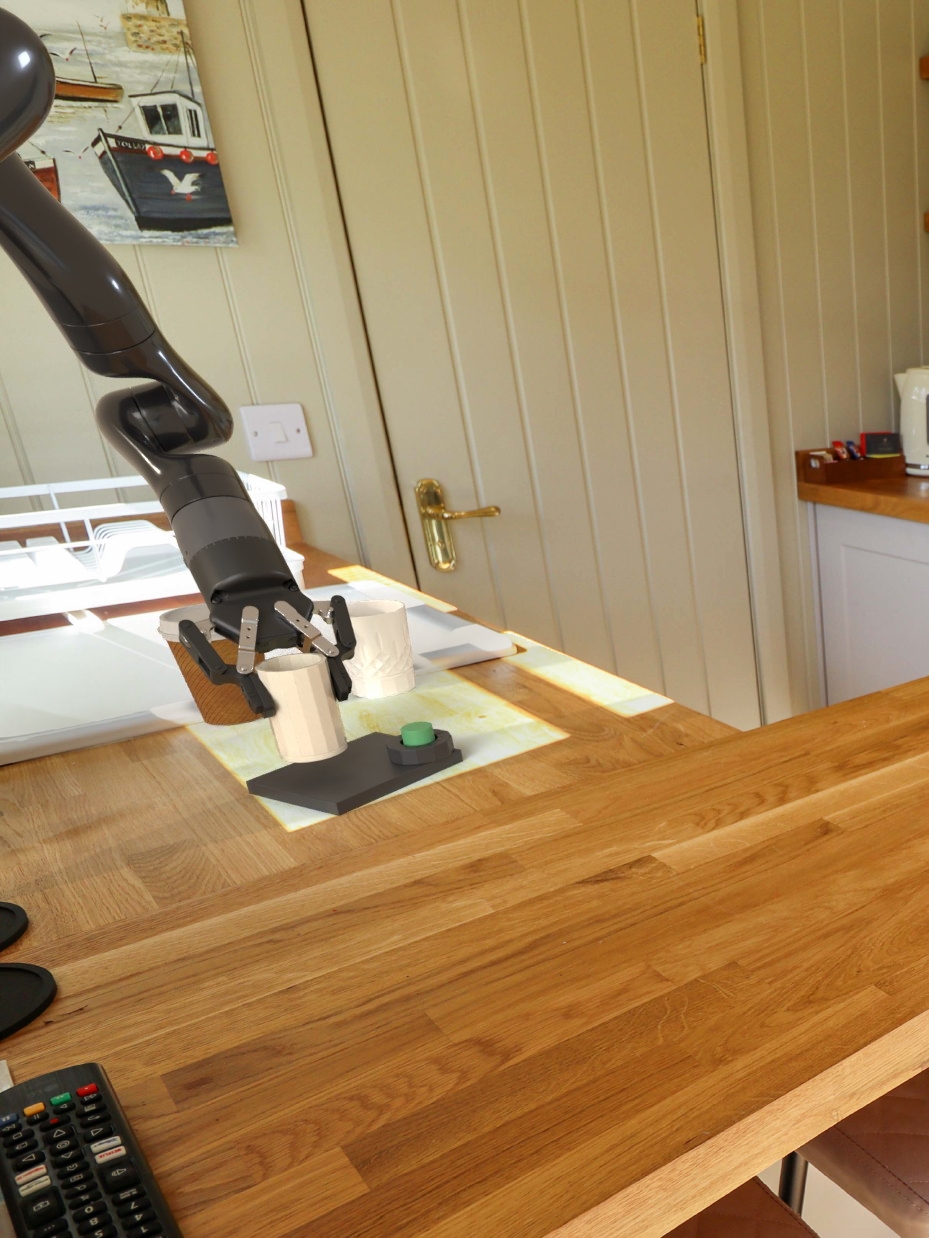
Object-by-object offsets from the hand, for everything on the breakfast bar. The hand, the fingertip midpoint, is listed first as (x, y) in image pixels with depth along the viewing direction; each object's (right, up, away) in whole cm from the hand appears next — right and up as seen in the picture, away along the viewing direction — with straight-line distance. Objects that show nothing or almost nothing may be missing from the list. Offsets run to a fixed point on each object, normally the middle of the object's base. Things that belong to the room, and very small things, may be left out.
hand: (307, 704), depth 101 cm
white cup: (-10, +3, +29) cm, 31 cm away
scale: (+1, -7, +6) cm, 9 cm away
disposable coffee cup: (-21, 0, +21) cm, 30 cm away
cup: (-1, -4, +3) cm, 6 cm away
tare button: (+6, -3, +8) cm, 10 cm away
